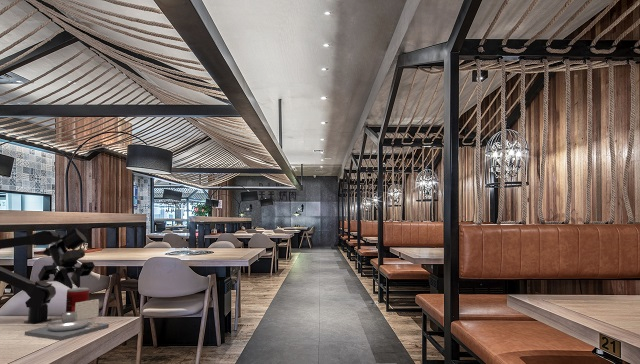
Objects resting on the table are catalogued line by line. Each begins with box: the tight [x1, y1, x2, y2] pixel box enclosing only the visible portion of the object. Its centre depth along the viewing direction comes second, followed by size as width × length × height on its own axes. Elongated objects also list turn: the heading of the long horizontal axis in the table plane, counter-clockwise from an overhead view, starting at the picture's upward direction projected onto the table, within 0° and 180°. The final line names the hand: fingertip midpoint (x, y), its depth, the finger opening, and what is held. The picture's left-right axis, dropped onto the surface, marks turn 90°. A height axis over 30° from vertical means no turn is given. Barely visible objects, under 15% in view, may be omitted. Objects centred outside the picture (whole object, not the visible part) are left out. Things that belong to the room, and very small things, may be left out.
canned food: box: [65, 287, 90, 312], centre depth 171 cm, size 8×8×11 cm
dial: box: [47, 298, 100, 331], centre depth 150 cm, size 16×12×8 cm
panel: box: [24, 321, 110, 341], centre depth 147 cm, size 18×18×1 cm
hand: (75, 287), depth 158 cm, fingers open, 2 cm apart
